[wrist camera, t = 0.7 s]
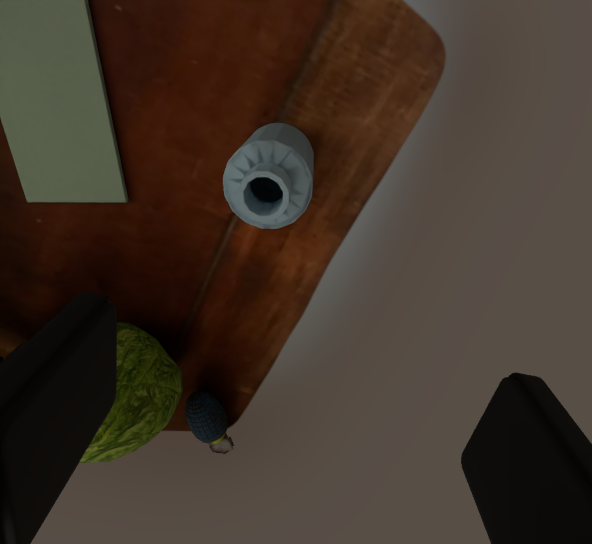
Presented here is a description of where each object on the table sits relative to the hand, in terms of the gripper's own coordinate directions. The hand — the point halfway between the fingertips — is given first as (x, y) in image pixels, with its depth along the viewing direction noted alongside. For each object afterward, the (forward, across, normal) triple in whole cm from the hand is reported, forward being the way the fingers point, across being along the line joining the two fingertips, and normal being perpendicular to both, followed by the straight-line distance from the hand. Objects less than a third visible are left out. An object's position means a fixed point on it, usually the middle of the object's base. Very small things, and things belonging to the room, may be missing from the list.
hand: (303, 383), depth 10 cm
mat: (+31, +24, -3) cm, 39 cm away
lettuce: (+25, +16, +35) cm, 46 cm away
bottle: (+31, +3, +1) cm, 31 cm away
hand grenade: (+29, +8, +29) cm, 42 cm away
